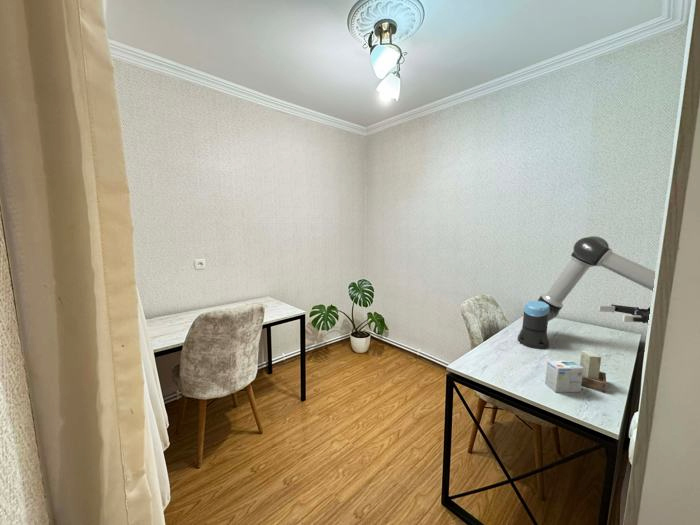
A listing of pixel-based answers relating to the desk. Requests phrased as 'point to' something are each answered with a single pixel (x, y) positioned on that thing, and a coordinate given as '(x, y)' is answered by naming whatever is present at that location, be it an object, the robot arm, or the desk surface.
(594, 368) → the skincare box
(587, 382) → the walnut holder
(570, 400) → the desk surface
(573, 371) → the light bulb box
